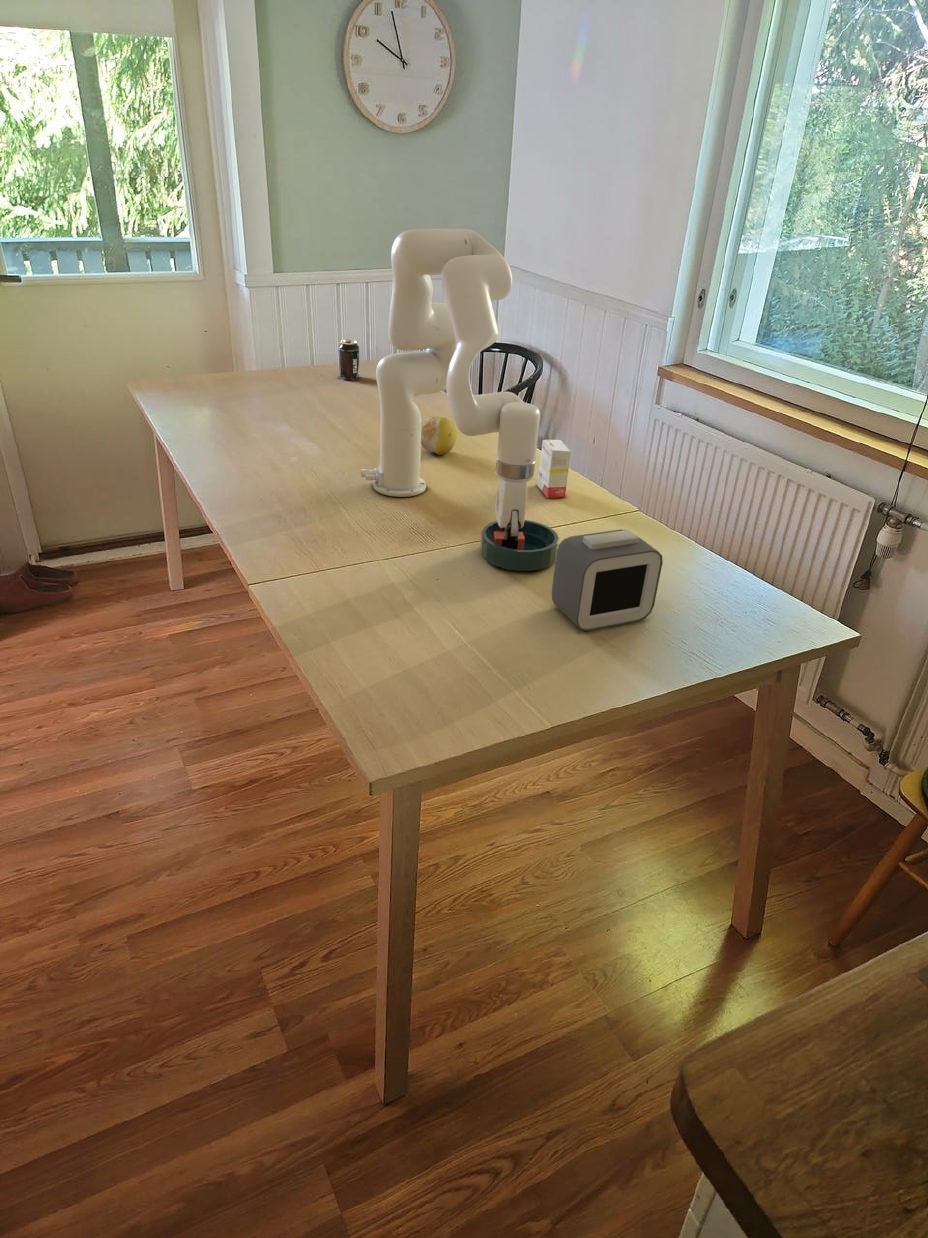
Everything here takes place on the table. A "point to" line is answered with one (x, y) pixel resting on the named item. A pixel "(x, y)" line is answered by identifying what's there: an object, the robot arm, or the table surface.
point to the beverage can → (348, 359)
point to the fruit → (438, 434)
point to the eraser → (500, 535)
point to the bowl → (533, 557)
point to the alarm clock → (605, 579)
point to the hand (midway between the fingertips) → (507, 551)
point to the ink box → (553, 468)
